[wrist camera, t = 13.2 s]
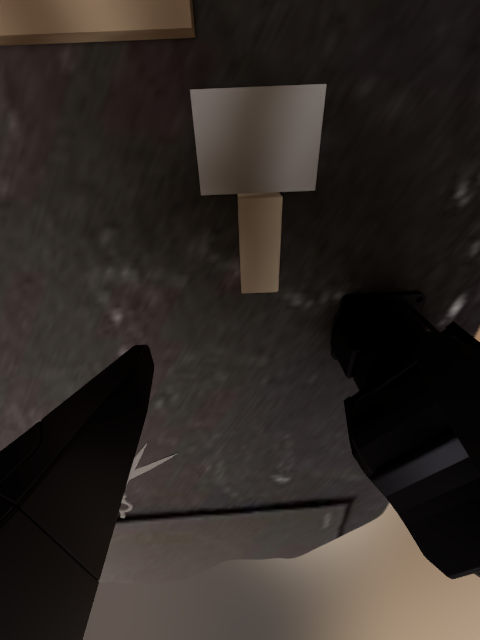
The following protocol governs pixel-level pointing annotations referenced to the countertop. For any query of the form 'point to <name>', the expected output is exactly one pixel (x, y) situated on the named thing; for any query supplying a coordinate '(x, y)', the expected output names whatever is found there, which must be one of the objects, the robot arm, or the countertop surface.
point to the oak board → (93, 21)
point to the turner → (258, 162)
